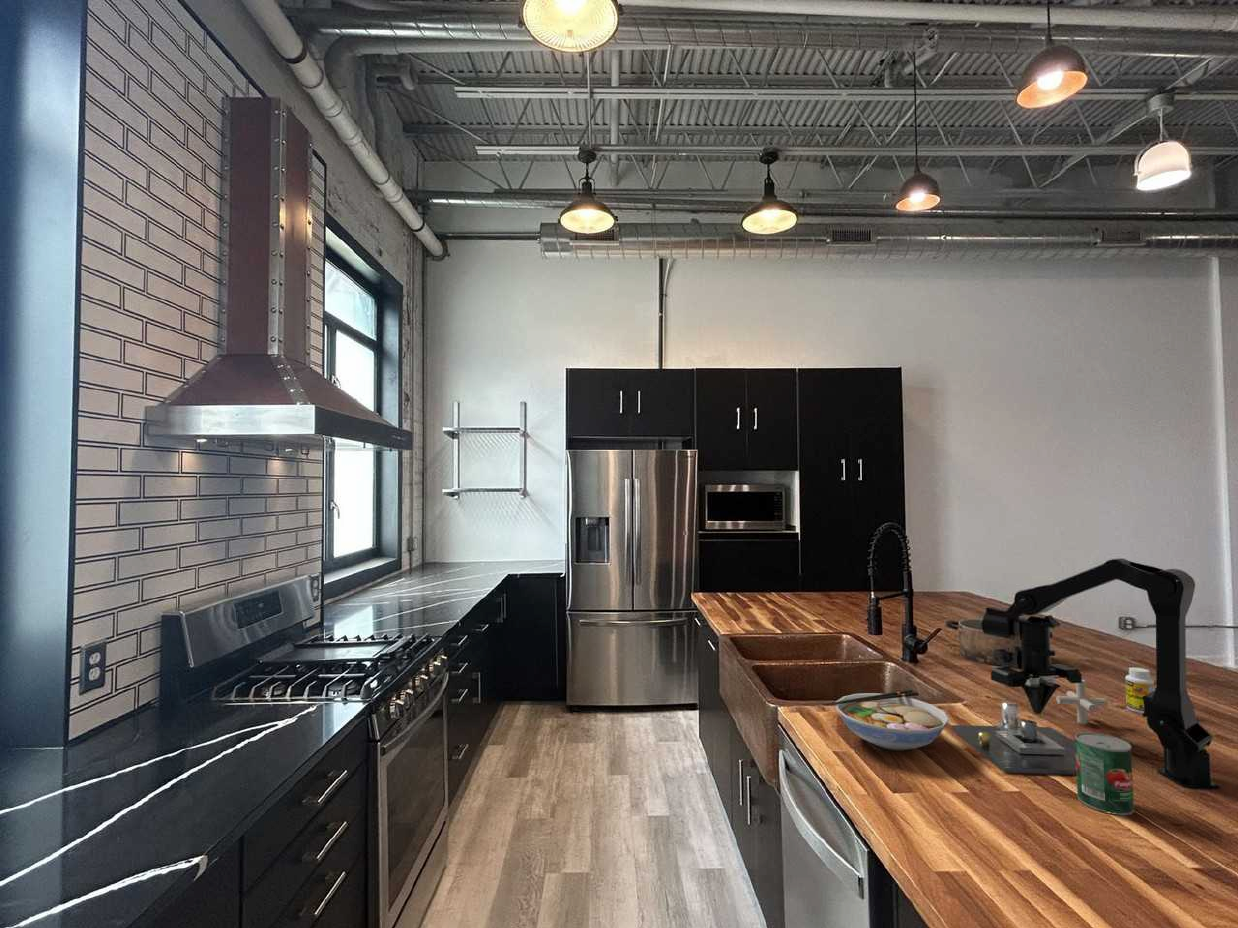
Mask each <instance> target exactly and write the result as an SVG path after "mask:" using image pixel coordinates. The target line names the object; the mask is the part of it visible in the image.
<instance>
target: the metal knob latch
mask: <svg viewBox="0 0 1238 928" xmlns="http://www.w3.org/2000/svg"><path fill="white" fill-rule="evenodd" d="M1018 709H1019V708H1018V703H1016V702H1013V701H1007V700H1006V701H1005V700H1004V701H1001V719H1002V720H1001V721H997V722H996V726H997V728H999V729H1000V730H1001V731H996V737H998V738H999V739H1000V740H1002V741H1003V742H1005V743H1006V744H1007V745H1009V746H1010V747H1011V748H1013V749H1014V750H1016V751H1017V752H1018V753H1020V754H1057V755H1065V748H1063V747H1062V746H1060V745H1059V744H1057V743H1055V742H1054V741H1052V740H1051V739H1049V738H1048V737H1046V736H1044V735H1043V734H1041V733H1040V732H1038V731H1037V736H1038V744H1031V743H1023V742H1022V741H1021V732H1020V728H1018V726H1019V711H1018Z"/></svg>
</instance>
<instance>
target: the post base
mask: <svg viewBox="0 0 1238 928" xmlns="http://www.w3.org/2000/svg"><path fill="white" fill-rule="evenodd" d="M1019 723H1020V724H1019V725H1020V726H1019V725H1018V728H1020V732H1021V741H1022V742H1023V743H1031V744H1038V736H1037V731H1038V732H1040V733H1041V734H1043V735H1044V736H1046V737H1048V738H1049V739H1051V740H1052V741H1054V742H1055V743H1057V744H1059V745H1060V746H1062V747H1063V748H1065V755H1057V754H1020V753H1018V752H1017V751H1016V750H1014V749H1013V748H1011V747H1010V746H1009V745H1007V744H1006V743H1005V742H1003V741H1002V740H1000V739H999V738H998V737H996V731H1001V730H1000V729H999V728H997V725H967V724H966V725H965V724H963V725H960V724H959V725H958V724H957V725H956V724H951V731H953V732H954V733H955V734H956V735H958V737H960V738H961V739H962V740H963V741H965V742H966V743H967V744H968V745H970V746H971V747H972V748H973V749H975V750H976V751H977V752H978V753H980V754H981V755H982V756H983V757H984V758H985V759H987V760H988V761H990V762H991V763H992V764H993V765H995V767H997V768H998V769H999V770H1000V771H1002V772H1003V773H1004V774H1009V775H1010V774H1011V775H1012V774H1015V775H1016V774H1018V775H1051V776H1052V775H1056V776H1057V775H1059V776H1061V775H1063V776H1077V769H1076V746H1075V745H1076V741H1074V740H1073V739H1071V738H1069V737H1068V736H1065V735H1064V734H1062V733H1061V732H1058V730H1056V729H1054V728H1052V727H1051V726H1038V723H1037V721H1034V720H1030V719H1020V720H1019Z"/></svg>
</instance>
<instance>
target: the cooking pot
mask: <svg viewBox="0 0 1238 928" xmlns="http://www.w3.org/2000/svg"><path fill="white" fill-rule="evenodd" d="M982 621H983V618H968V619H962V620H959V621H955V620H949V621H946V623H945V627H947V628H948V629H952V630H954V631H955V630H956V631H958V645H959V646H958V648H959V655H960V656H961V657H962V656H963V658H964V659H966V660H969V661H971V662H974V663H979V664H984V665H987V666H994V667H1003V666H1002V663H999V664H998V663H996V661H995V658H994V650H997V649H1005V650H1006V651H1007V652H1008V653H1009V652H1015V647H1016V646H1020V635H1019V636H1016V637H1015V639H1013V640H1011V639H1005V638H1000V637H995V636H989V635H985V634H984V632H983V630H982ZM1052 638H1053V632H1052V631H1050V639H1052ZM1008 668H1013V666H1008Z"/></svg>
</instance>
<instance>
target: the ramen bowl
mask: <svg viewBox="0 0 1238 928" xmlns="http://www.w3.org/2000/svg"><path fill="white" fill-rule="evenodd" d="M916 696H919V692H917V691H914V690H913V689H907V690H906V689H904V690H899V691H894V692H888V693H877V692H876V693H875V692H871V693H870V692H868V693H866V692H865V693H853V694H848V695H845V696H842V697H841V698H839V699H837V700H836V701H832V702H827V703H823V704H822V705H823V706H833V705H835V708H836V710H837V712H838V714H839V716H840V718H841V719H842V721H843V723H844V724H845V725H846V726H847V727H848V729H850V730H851V731H852V733H854V735H855V734H856V736H858V737H859V738H861V739H863V740H864V741H866V742H868V743H871V744H874V745H875V746H877V747H879V748H881V749H885V750H889V751H896V752H898V751H900V752H901V751H906V750H912V749H914V750H915V749H918V748H921V747H925V746H927V745H930V744H932V743H933V742H934V741H935V740H936V739H937V737H939V735H941V734H942V732H943V731H944V729H945V728H946V727H947V725H948V723H949V721H950V718H949V716H948V715H947V713H946V712H945V711H943V710H942V709H940V708H939V707H937V706H935V705H933V704H931V703H928V702H926V701H922V700H919V699H915V698H912V697H916Z"/></svg>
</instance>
